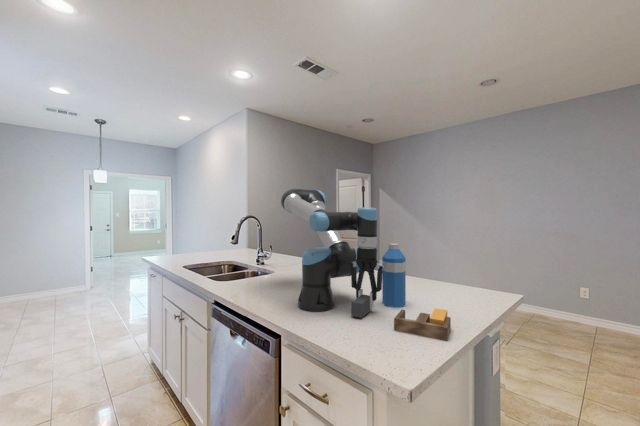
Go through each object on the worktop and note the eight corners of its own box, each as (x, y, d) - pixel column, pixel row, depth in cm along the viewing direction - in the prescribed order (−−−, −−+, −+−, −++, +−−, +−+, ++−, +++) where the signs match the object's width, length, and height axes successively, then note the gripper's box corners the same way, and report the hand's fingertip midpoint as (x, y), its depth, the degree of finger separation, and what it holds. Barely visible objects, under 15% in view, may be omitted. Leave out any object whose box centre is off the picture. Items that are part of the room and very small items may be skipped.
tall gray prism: (351, 315, 104) (351, 301, 104) (362, 307, 113) (362, 294, 113) (361, 317, 102) (361, 303, 102) (372, 308, 111) (372, 296, 111)
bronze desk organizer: (394, 330, 93) (394, 318, 93) (401, 320, 101) (401, 309, 101) (447, 340, 85) (447, 328, 85) (450, 329, 94) (450, 317, 94)
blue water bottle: (406, 308, 114) (406, 245, 114) (382, 306, 116) (382, 245, 116) (404, 301, 123) (404, 243, 124) (382, 299, 125) (382, 242, 125)
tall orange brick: (429, 334, 90) (429, 318, 90) (434, 322, 100) (434, 308, 100) (443, 336, 88) (443, 320, 88) (447, 324, 98) (447, 310, 98)
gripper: (342, 246, 111) (341, 306, 112) (385, 250, 103) (384, 314, 103) (350, 244, 118) (349, 301, 118) (391, 247, 110) (390, 308, 110)
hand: (366, 307), depth 111 cm, fingers closed on tall gray prism, 4 cm apart
